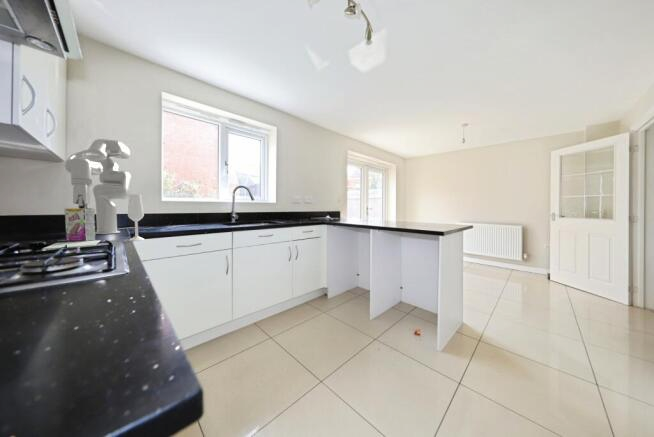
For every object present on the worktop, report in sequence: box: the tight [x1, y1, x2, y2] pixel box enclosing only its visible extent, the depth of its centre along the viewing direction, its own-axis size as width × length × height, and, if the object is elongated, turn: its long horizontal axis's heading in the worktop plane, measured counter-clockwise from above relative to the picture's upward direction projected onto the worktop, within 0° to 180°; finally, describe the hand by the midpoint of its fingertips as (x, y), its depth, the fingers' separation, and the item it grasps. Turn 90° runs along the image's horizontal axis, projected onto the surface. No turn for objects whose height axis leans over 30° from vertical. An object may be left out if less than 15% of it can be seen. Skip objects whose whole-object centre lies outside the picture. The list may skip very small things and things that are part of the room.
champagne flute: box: [127, 193, 145, 242], centre depth 123 cm, size 7×7×24 cm
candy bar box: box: [64, 207, 97, 242], centre depth 117 cm, size 11×5×16 cm, turn 84°
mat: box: [42, 239, 101, 250], centre depth 107 cm, size 18×15×1 cm
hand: (83, 217), depth 123 cm, fingers closed
